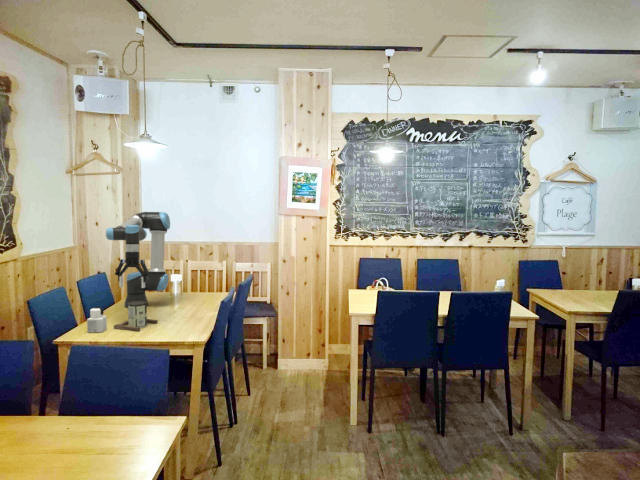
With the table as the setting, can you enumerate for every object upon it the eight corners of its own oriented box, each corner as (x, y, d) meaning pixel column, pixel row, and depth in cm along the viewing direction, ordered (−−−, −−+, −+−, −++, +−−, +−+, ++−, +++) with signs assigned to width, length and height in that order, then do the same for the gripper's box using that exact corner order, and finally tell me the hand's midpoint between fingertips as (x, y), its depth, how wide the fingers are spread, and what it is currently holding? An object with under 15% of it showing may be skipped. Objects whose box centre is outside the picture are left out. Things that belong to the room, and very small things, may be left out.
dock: (134, 320, 275) (134, 317, 275) (157, 323, 271) (157, 320, 271) (113, 328, 258) (113, 325, 258) (137, 331, 254) (137, 328, 254)
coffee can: (136, 322, 271) (136, 299, 269) (151, 324, 268) (150, 301, 266) (124, 327, 261) (123, 303, 260) (138, 329, 258) (138, 305, 256)
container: (93, 328, 258) (92, 306, 256) (107, 328, 258) (106, 306, 257) (87, 332, 250) (86, 309, 249) (101, 332, 251) (101, 309, 249)
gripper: (108, 251, 263) (108, 287, 263) (149, 252, 260) (149, 289, 261) (115, 250, 270) (115, 285, 271) (155, 251, 268) (155, 287, 268)
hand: (132, 287), depth 266 cm, fingers open, 13 cm apart
